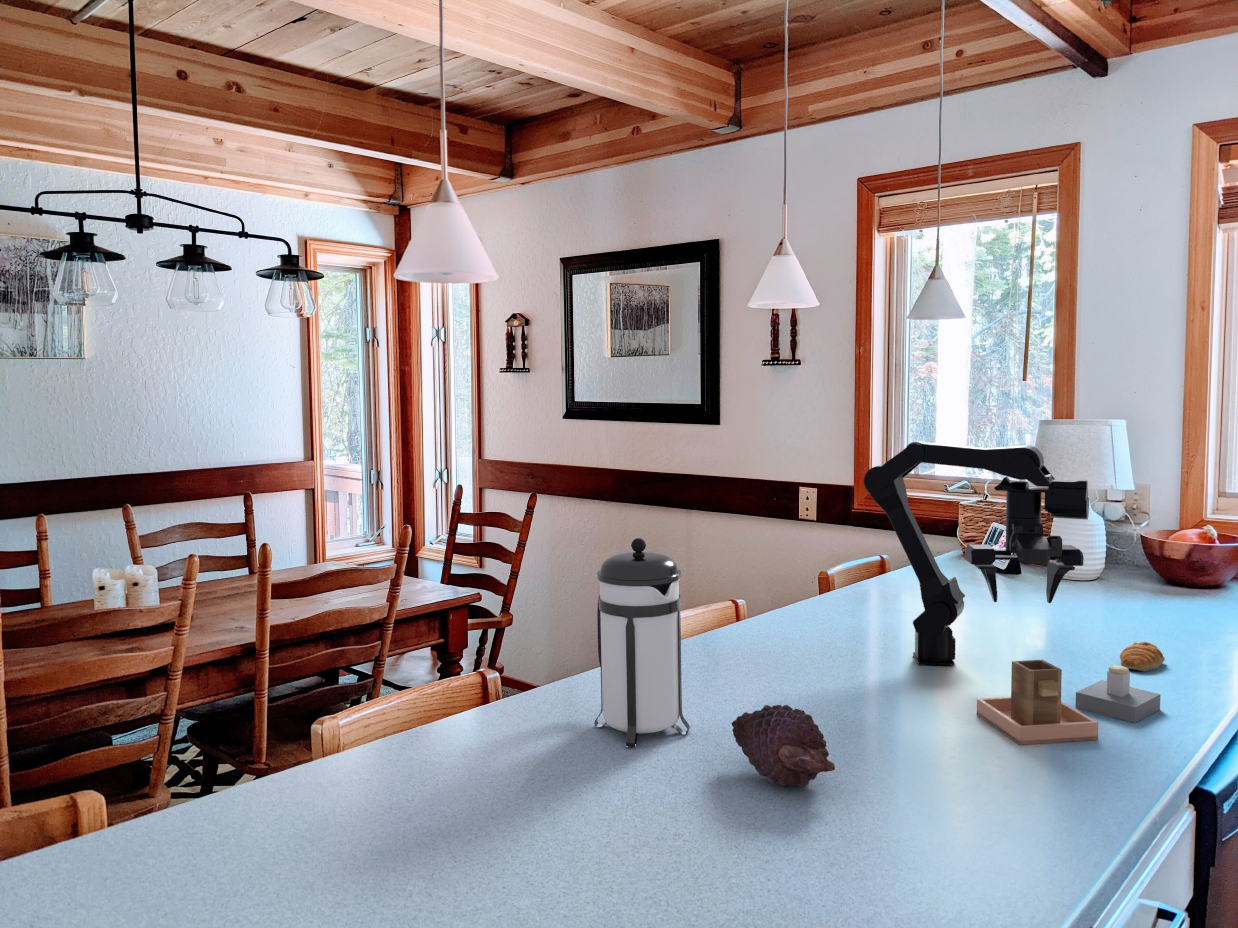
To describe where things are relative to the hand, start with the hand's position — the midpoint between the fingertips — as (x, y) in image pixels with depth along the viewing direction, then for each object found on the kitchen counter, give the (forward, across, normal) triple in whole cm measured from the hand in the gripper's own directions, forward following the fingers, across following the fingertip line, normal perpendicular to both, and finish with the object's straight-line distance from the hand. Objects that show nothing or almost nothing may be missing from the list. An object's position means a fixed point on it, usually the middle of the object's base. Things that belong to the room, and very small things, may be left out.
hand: (1021, 602), depth 160 cm
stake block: (+13, +10, -17) cm, 24 cm away
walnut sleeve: (+12, -5, -26) cm, 30 cm away
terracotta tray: (+13, -5, -26) cm, 30 cm away
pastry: (+14, +23, +7) cm, 28 cm away
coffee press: (+13, -66, -33) cm, 75 cm away
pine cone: (+13, -44, -49) cm, 67 cm away
